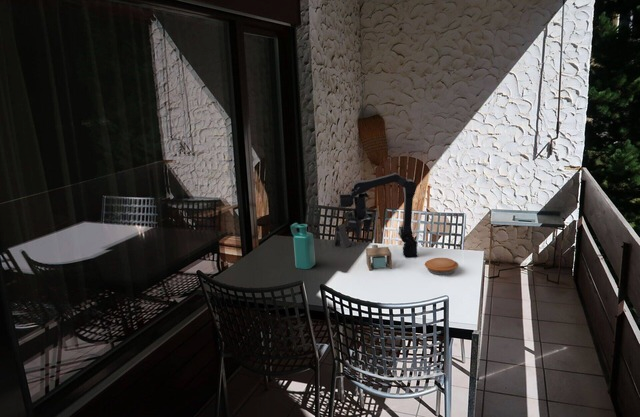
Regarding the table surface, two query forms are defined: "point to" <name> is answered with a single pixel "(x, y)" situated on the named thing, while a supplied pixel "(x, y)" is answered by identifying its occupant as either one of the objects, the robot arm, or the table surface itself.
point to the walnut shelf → (378, 252)
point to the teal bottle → (303, 247)
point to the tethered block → (378, 260)
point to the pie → (441, 266)
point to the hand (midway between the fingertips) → (362, 235)
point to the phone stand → (341, 237)
